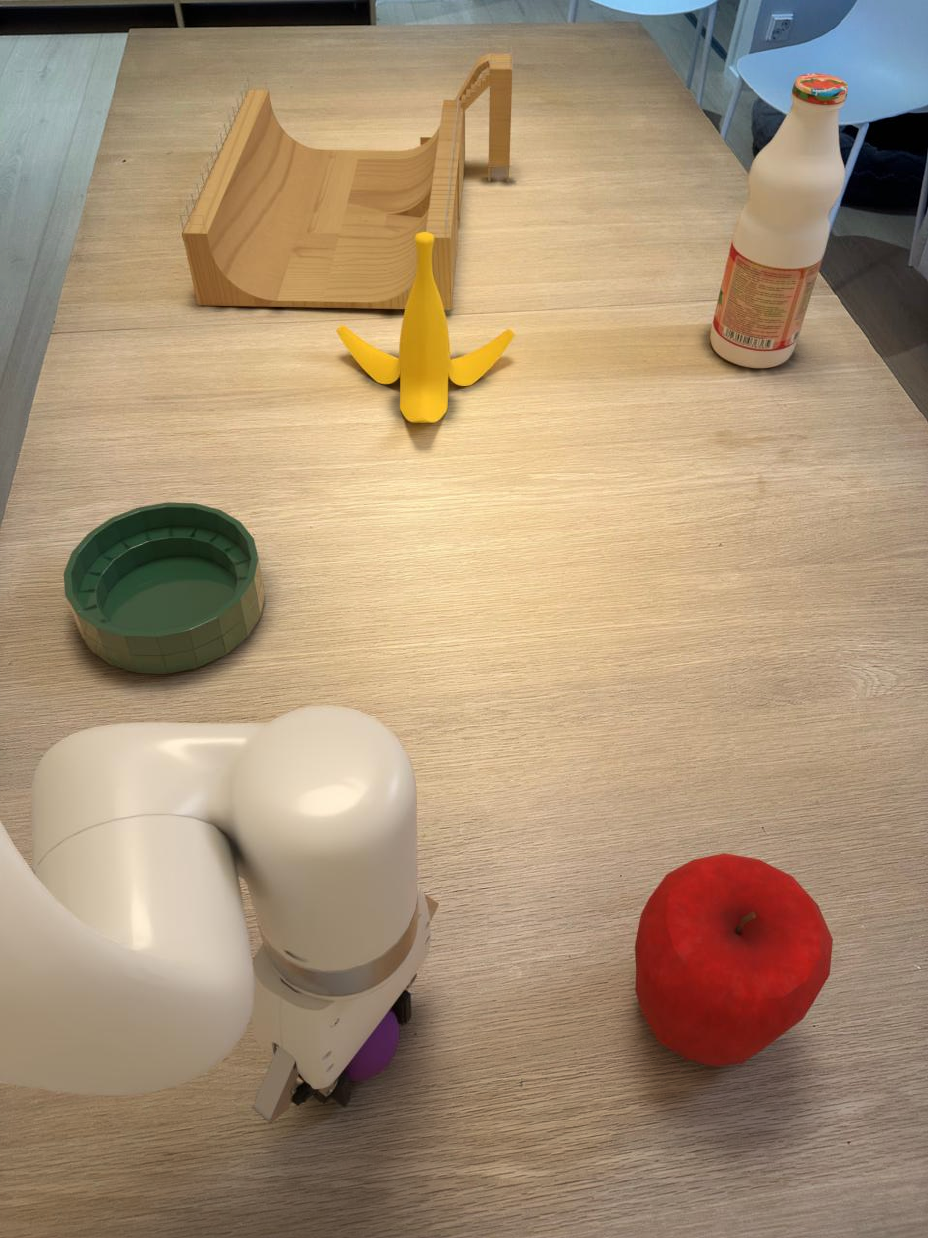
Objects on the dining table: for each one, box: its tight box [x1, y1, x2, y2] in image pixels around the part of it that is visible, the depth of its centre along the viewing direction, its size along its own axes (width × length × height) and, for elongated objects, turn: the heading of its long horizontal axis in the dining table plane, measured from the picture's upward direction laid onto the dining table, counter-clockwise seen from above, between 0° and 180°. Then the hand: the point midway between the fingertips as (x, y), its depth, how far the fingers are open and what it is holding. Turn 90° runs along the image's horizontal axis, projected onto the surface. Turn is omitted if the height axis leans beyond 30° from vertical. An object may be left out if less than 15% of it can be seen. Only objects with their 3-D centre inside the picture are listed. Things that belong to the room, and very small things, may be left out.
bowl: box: [63, 502, 266, 675], centre depth 84 cm, size 15×15×5 cm
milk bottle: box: [710, 72, 849, 369], centre depth 104 cm, size 9×9×28 cm
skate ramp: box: [179, 38, 514, 311], centre depth 125 cm, size 40×35×16 cm
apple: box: [634, 852, 834, 1068], centre depth 59 cm, size 11×10×14 cm
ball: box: [343, 1008, 400, 1082], centre depth 60 cm, size 5×5×5 cm
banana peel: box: [336, 232, 516, 424], centre depth 100 cm, size 16×19×17 cm
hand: (358, 1046), depth 62 cm, fingers open, 5 cm apart
